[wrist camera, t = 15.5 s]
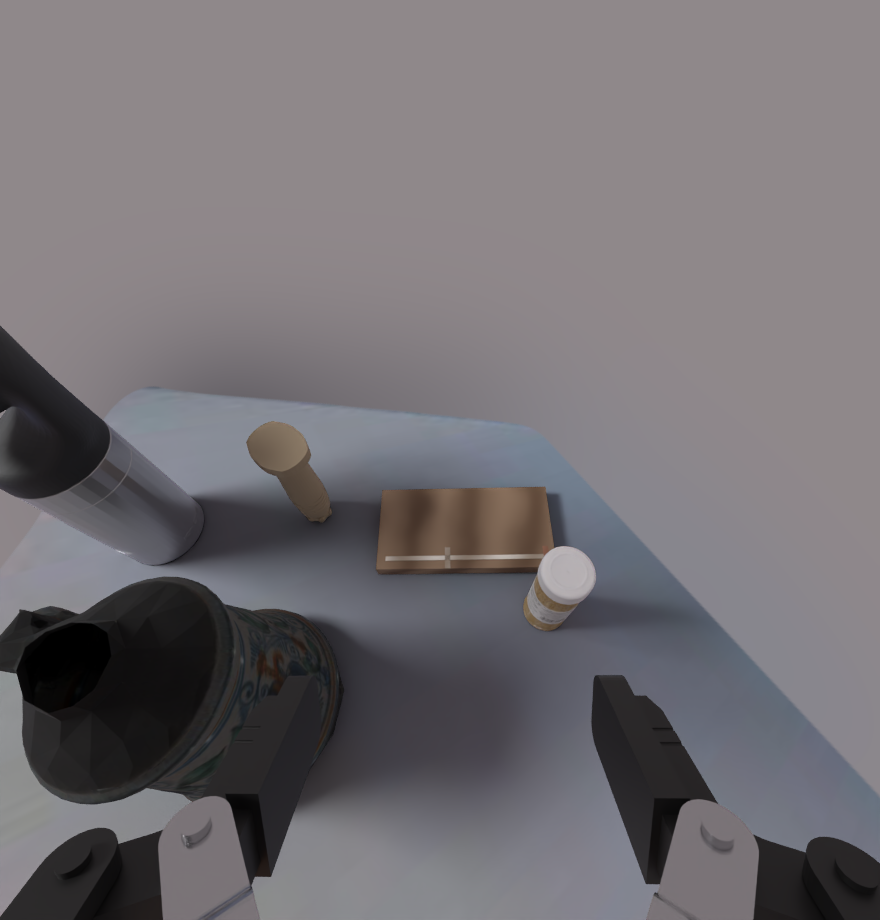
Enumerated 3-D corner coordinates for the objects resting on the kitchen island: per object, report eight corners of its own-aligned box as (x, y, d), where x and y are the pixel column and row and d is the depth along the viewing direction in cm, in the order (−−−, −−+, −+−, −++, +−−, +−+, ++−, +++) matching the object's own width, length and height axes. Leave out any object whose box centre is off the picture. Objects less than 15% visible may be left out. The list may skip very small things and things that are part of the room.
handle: (317, 485, 57) (275, 413, 44) (351, 513, 54) (317, 445, 42) (288, 511, 55) (236, 445, 42) (323, 541, 52) (278, 480, 40)
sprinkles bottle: (568, 597, 48) (601, 554, 36) (559, 638, 45) (592, 607, 34) (527, 583, 49) (547, 537, 37) (517, 623, 46) (534, 587, 35)
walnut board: (378, 574, 50) (375, 569, 48) (384, 496, 55) (382, 489, 54) (554, 572, 49) (557, 566, 48) (542, 493, 54) (545, 486, 53)
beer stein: (350, 786, 40) (222, 846, 18) (133, 830, 39) (-266, 947, 17) (342, 603, 48) (249, 503, 27) (165, 635, 47) (-75, 557, 26)
